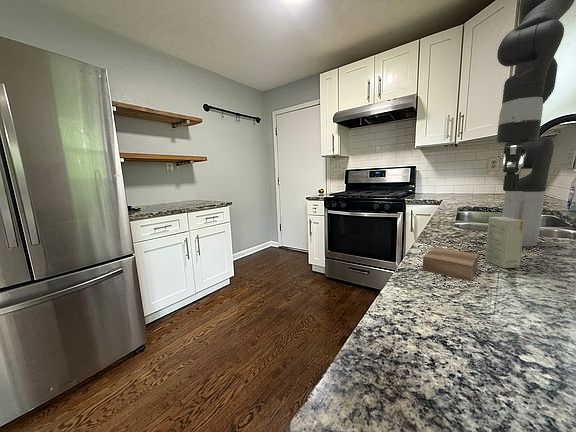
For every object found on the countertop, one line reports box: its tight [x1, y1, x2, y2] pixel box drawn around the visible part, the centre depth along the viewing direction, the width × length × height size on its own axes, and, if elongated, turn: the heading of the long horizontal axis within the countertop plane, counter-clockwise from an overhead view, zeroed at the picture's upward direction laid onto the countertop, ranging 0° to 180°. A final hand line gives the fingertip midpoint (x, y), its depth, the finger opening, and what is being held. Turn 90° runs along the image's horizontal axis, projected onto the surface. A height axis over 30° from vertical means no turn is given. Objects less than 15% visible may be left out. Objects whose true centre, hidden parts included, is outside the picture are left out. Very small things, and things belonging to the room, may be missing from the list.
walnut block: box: [422, 246, 480, 282], centre depth 63 cm, size 10×10×4 cm
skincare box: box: [484, 216, 525, 269], centre depth 64 cm, size 6×4×12 cm
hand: (510, 189), depth 62 cm, fingers open, 8 cm apart
